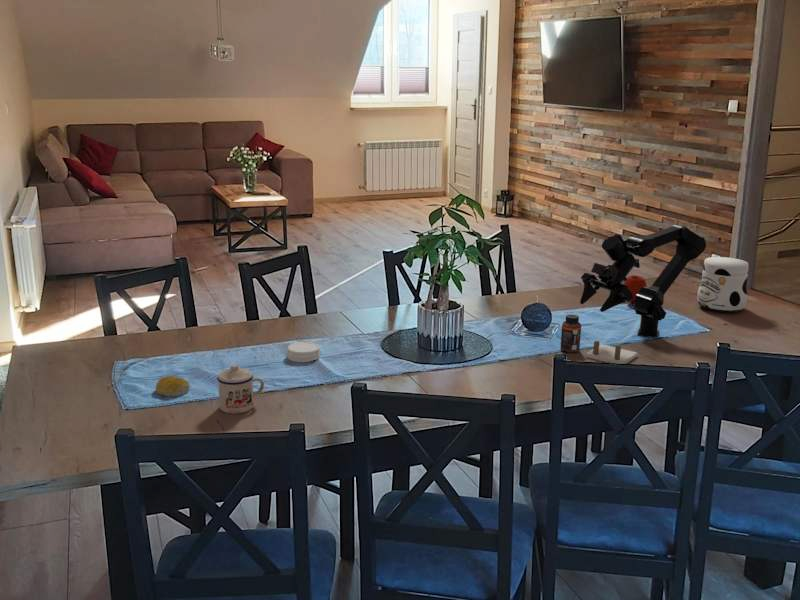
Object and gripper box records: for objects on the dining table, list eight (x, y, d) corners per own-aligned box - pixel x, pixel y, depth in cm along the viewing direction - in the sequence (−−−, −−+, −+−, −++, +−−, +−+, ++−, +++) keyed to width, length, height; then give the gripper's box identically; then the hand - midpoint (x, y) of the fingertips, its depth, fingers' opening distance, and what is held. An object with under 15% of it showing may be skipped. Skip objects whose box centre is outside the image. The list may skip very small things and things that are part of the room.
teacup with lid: (224, 417, 204) (221, 374, 201) (215, 403, 212) (212, 362, 209) (269, 408, 209) (268, 367, 206) (259, 396, 217) (257, 355, 214)
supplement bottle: (579, 354, 251) (582, 319, 248) (560, 352, 252) (562, 318, 249) (579, 347, 257) (582, 313, 254) (560, 346, 258) (562, 312, 255)
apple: (618, 299, 309) (620, 272, 306) (639, 299, 310) (642, 272, 307) (626, 306, 301) (629, 278, 298) (648, 305, 302) (651, 278, 299)
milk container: (690, 310, 298) (695, 262, 293) (702, 299, 311) (708, 254, 306) (739, 318, 288) (746, 269, 283) (750, 307, 302) (756, 260, 297)
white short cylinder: (311, 365, 240) (310, 354, 239) (281, 360, 244) (281, 349, 243) (325, 354, 249) (325, 343, 248) (296, 350, 253) (296, 339, 252)
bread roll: (172, 383, 226) (171, 370, 225) (194, 390, 221) (193, 376, 220) (148, 392, 219) (147, 379, 218) (171, 400, 215) (170, 386, 213)
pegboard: (601, 347, 257) (602, 332, 256) (637, 356, 250) (638, 340, 249) (585, 356, 249) (587, 341, 247) (622, 366, 242) (624, 349, 240)
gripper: (587, 248, 260) (558, 285, 258) (629, 260, 244) (599, 299, 242) (603, 269, 266) (575, 305, 264) (645, 282, 250) (616, 321, 248)
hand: (590, 307), depth 254 cm, fingers open, 9 cm apart
